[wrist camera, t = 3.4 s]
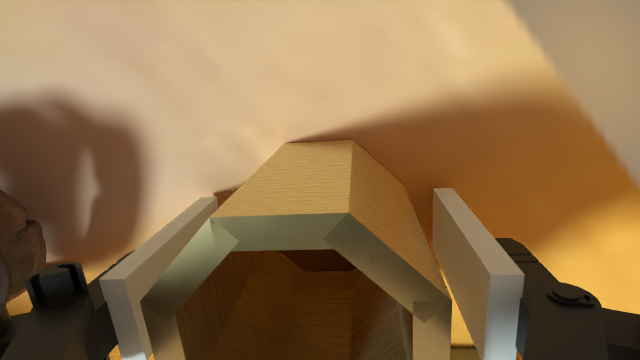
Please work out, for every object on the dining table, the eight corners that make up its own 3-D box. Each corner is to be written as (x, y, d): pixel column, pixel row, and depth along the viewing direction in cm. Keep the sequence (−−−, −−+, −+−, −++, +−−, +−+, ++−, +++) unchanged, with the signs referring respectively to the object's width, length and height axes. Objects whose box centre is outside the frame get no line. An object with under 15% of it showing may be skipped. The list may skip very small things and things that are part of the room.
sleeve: (237, 146, 15) (118, 220, 8) (402, 136, 14) (455, 208, 7) (258, 286, 17) (179, 457, 10) (404, 285, 16) (446, 471, 9)
